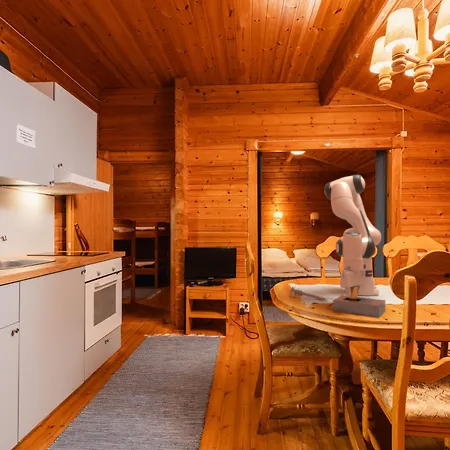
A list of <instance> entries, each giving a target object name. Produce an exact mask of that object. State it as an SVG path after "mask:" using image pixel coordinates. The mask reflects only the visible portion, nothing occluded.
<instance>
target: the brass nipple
mask: <svg viewBox="0 0 450 450" xmlns="http://www.w3.org/2000/svg"><path fill="white" fill-rule="evenodd" d="M350 293H351V296H350V297H348V300H349V301H357V297H358V295H357V286H353V287H350Z"/></svg>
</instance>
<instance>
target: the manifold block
mask: <svg viewBox="0 0 450 450" xmlns="http://www.w3.org/2000/svg"><path fill="white" fill-rule="evenodd" d="M332 312H338V313H346V314H353V315H359V316H360V315H361V316H366V315H367V316H369V317H373V318H374V317H375V318H380V317H382V315H383V314H384V313H385V312H386V299H377V298H370V297H360V296H357V301H349V300H348V297H347V296H346V295H343V294H342V295H340V296H338V297H336V298H334V299H332Z"/></svg>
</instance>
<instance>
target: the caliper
mask: <svg viewBox="0 0 450 450" xmlns="http://www.w3.org/2000/svg"><path fill="white" fill-rule="evenodd" d="M292 294H293V295H292ZM296 295H298V296H300V297H303V296H305V297H308V298H313V299H316V300H319V301H328V299H327V298H325V297H323V296H319V295H315V294H311V293H308V292H304V291H303V290H300V289H296V286H295V287H294V286H291V288H290V290H289V298H295V297H296Z"/></svg>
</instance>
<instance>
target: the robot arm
mask: <svg viewBox="0 0 450 450" xmlns="http://www.w3.org/2000/svg"><path fill="white" fill-rule="evenodd" d="M323 188H324V190H323V192H324V195H325V197H326V198H327V200H329V201H330V203H331V210H332V212H333V214H334V215H335V216H336V217H338V218H340V219H342V220H345V221H346V222H347V223H348V224H350V225H351V226H352V227H351V228H348V229H345V231H344V232H343V234H342V238H339V239H338V240H336V243H335V253H336V254H337V255H338V256H339V257H341V258H342V271H341V272H340V279H339V286H340V288H342V289H344V291H345V296H347V297H350V296H351V293H350V287H353V286H357V296H379V295H380V290H379V289H377V286H376V282H375V279H374V277H373V274H374V273H373V269H372V265H373V264H372V261H373V260H372V259H373V258H372V256H374V255H375V254H376V246H378V245H379V244H380V243H381V241H382V233H381V231H380V230H379V229H377V228H376V227H375V226H374V225H373V224H372V223H371V221H370V219H369V218H368V217H367V214H366V211H365V208H364V207H365V206H364V204H363V200H362V198H361V194H362V193H363V192H365V189H366V181H365V179H364V178H363V176H362V175H361V174H353V175H350V176H344V177H340V178H339V179H336V180H333V181H329V182H326V184H325V185H324V187H323Z"/></svg>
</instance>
